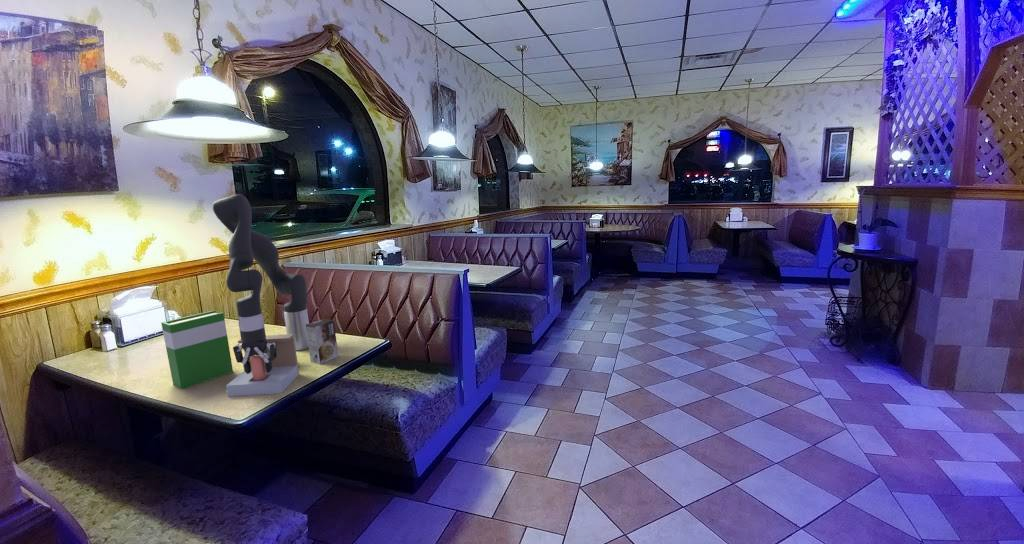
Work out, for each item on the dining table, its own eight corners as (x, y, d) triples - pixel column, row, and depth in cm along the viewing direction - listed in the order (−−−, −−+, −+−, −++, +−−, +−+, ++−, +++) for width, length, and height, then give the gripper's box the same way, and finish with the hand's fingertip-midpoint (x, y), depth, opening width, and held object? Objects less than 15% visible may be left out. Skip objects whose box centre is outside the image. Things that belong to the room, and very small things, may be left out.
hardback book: (224, 368, 185) (214, 310, 180) (233, 371, 181) (223, 312, 176) (173, 384, 171) (161, 322, 166) (181, 389, 166) (169, 325, 162)
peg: (252, 391, 162) (247, 359, 160) (258, 386, 166) (253, 354, 164) (264, 390, 163) (259, 358, 160) (269, 385, 167) (265, 354, 164)
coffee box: (328, 354, 195) (324, 317, 192) (339, 357, 192) (334, 319, 189) (309, 362, 188) (304, 324, 184) (320, 364, 184) (315, 326, 181)
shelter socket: (250, 377, 175) (243, 336, 172) (299, 374, 176) (293, 334, 173) (227, 396, 159) (220, 352, 156) (281, 393, 160) (275, 349, 157)
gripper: (224, 331, 156) (232, 378, 159) (268, 329, 157) (275, 375, 160) (236, 324, 163) (243, 369, 167) (277, 322, 164) (284, 366, 167)
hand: (258, 372), depth 163 cm, fingers open, 6 cm apart
